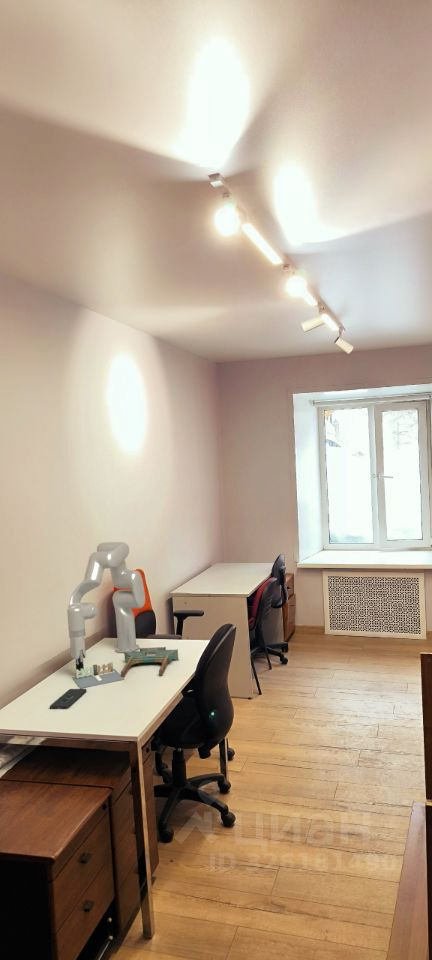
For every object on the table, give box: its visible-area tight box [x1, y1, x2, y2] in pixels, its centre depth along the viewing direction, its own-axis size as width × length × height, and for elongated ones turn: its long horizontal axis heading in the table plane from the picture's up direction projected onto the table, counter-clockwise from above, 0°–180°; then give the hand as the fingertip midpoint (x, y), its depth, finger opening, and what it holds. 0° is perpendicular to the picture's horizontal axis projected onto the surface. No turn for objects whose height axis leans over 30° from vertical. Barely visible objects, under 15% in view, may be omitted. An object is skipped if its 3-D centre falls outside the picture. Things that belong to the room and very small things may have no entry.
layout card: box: [72, 668, 125, 689], centre depth 287 cm, size 17×20×1 cm
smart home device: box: [49, 688, 88, 710], centre depth 263 cm, size 8×2×20 cm
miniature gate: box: [120, 646, 180, 678], centre depth 300 cm, size 27×6×30 cm
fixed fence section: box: [92, 661, 114, 676], centre depth 293 cm, size 9×2×5 cm, turn 114°
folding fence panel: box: [75, 666, 94, 678], centre depth 289 cm, size 8×1×4 cm, turn 114°
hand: (80, 672), depth 293 cm, fingers closed
